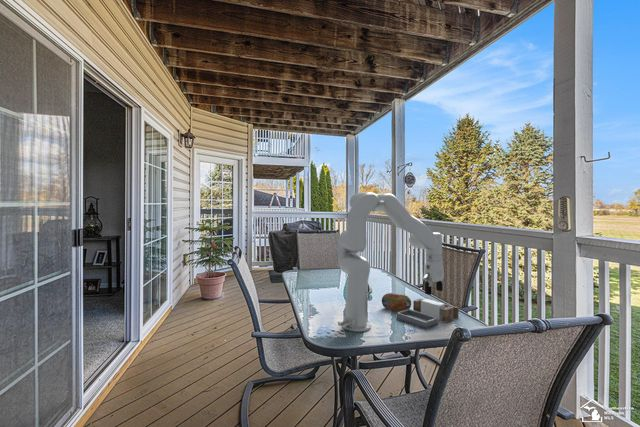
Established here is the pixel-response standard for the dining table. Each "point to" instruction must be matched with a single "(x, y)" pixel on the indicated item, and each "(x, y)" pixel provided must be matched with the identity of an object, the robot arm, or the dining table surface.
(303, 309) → the dining table surface
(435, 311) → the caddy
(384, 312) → the dining table surface
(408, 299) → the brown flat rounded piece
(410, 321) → the tray
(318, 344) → the dining table surface
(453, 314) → the bay
